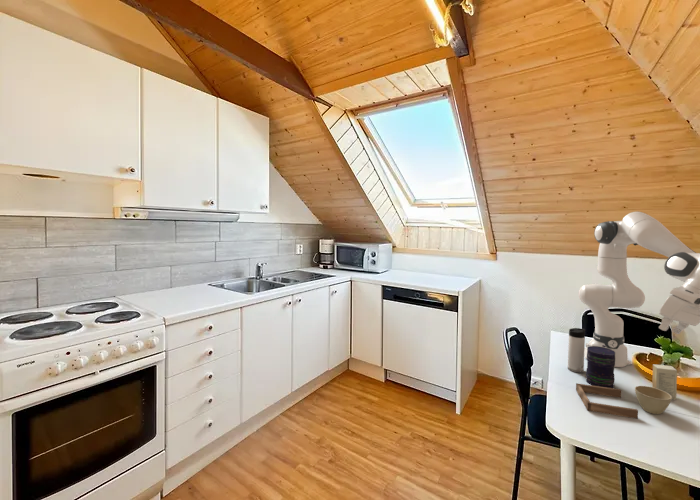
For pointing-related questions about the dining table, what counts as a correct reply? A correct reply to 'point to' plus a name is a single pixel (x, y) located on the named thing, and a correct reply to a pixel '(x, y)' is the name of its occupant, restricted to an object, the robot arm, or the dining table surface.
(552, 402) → the dining table surface
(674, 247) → the robot arm
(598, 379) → the storage jar
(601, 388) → the frame
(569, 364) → the travel mug
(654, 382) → the skincare box
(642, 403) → the beige bowl
